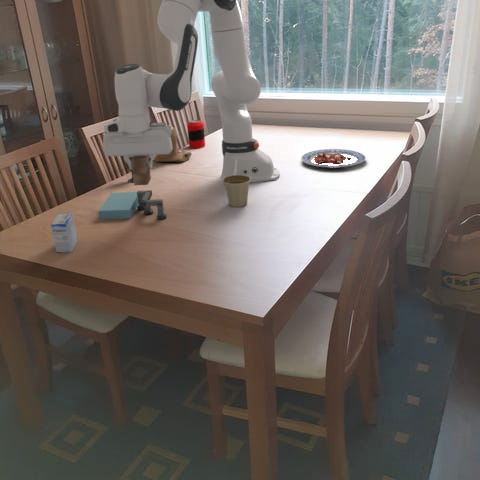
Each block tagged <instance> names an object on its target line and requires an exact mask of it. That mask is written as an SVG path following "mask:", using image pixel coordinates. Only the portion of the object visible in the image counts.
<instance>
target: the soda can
mask: <svg viewBox="0 0 480 480" xmlns="http://www.w3.org/2000/svg"><path fill="white" fill-rule="evenodd" d="M186 126H187V136H188V137H187V138H188V147H189V148H190V149H195V150H196V149H198V148H199V149H203V148H205V147H206V139H205V127H204V122H203V121H202V120H199V119H192V120H189V121H188V123H187V125H186ZM204 146H205V147H204Z"/></svg>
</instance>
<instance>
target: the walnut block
mask: <svg viewBox="0 0 480 480" xmlns="http://www.w3.org/2000/svg"><path fill="white" fill-rule="evenodd" d="M149 159H150V158H149V155H134V156H133V157H132V159H131V165H132V172H133V180H134V182H133V186H147V185H148V184H149V183H150V181H151V179H152V177H151V169H147V165H146V164H147V162H150V160H149ZM132 172H131V173H132Z"/></svg>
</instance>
